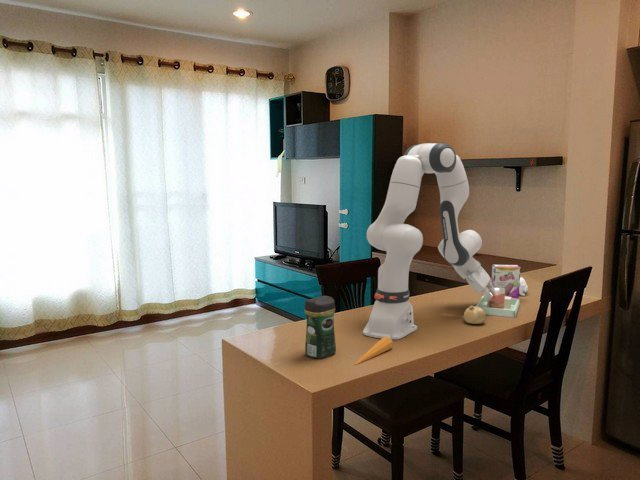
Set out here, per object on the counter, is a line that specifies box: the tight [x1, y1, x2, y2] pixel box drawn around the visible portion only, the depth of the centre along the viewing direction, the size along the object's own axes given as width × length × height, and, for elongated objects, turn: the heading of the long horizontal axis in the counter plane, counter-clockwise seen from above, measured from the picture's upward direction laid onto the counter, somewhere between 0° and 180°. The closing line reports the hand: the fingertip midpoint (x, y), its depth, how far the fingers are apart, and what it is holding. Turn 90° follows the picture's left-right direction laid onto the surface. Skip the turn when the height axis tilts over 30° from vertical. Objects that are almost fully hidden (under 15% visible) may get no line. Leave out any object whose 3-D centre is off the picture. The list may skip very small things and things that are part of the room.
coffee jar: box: [304, 295, 337, 359], centre depth 157 cm, size 10×8×19 cm
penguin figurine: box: [519, 276, 529, 297], centre depth 233 cm, size 6×8×12 cm
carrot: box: [354, 337, 394, 366], centre depth 156 cm, size 20×4×4 cm, turn 141°
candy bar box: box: [490, 264, 522, 299], centre depth 218 cm, size 11×5×16 cm, turn 84°
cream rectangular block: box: [487, 296, 511, 309], centre depth 209 cm, size 5×9×4 cm, turn 64°
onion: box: [463, 305, 487, 325], centre depth 189 cm, size 8×8×7 cm
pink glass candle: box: [488, 286, 505, 309], centre depth 200 cm, size 6×6×10 cm
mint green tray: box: [474, 294, 520, 319], centre depth 205 cm, size 20×15×4 cm
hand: (493, 295), depth 200 cm, fingers open, 8 cm apart
